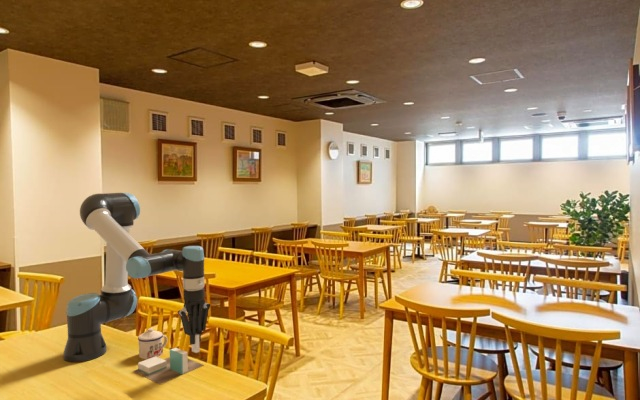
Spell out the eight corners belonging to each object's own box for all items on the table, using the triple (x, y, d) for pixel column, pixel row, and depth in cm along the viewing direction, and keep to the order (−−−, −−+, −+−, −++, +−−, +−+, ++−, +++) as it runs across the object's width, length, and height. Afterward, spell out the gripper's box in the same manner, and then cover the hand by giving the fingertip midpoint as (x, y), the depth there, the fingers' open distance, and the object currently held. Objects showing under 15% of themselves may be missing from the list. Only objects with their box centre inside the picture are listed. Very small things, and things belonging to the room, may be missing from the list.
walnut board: (133, 375, 150) (132, 371, 150) (177, 358, 165) (177, 354, 165) (159, 388, 140) (159, 384, 140) (204, 369, 154) (204, 365, 154)
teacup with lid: (148, 365, 159) (147, 334, 158) (133, 359, 164) (132, 330, 163) (174, 353, 169) (173, 325, 168) (160, 349, 174) (159, 321, 173)
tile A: (155, 362, 157) (138, 369, 151) (155, 356, 157) (137, 362, 151) (166, 367, 153) (148, 374, 147) (166, 360, 153) (148, 367, 147)
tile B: (170, 369, 152) (169, 349, 151) (176, 366, 154) (175, 347, 153) (181, 374, 147) (181, 354, 147) (187, 371, 149) (187, 352, 149)
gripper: (185, 293, 148) (186, 360, 149) (214, 286, 158) (216, 348, 159) (172, 290, 152) (174, 355, 153) (202, 283, 163) (203, 343, 164)
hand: (195, 351), depth 156 cm, fingers closed
